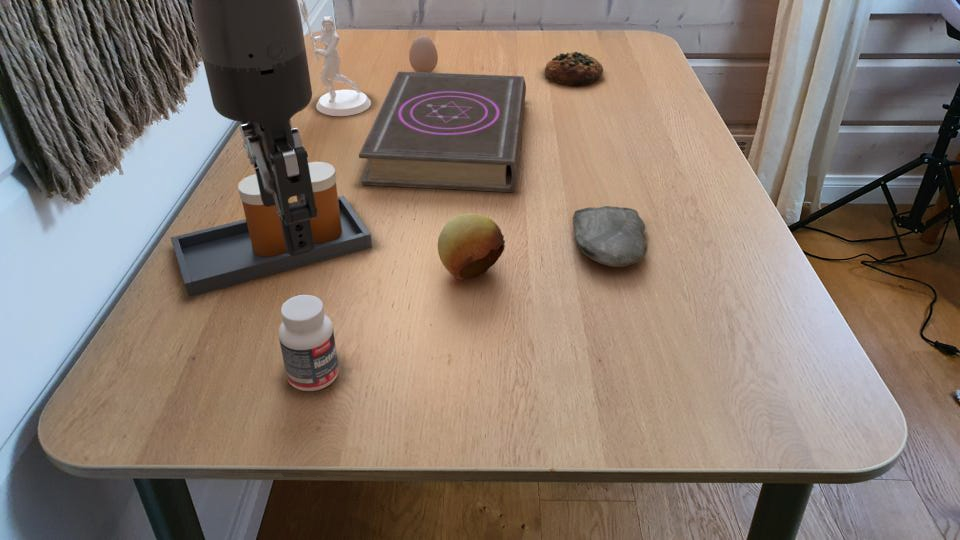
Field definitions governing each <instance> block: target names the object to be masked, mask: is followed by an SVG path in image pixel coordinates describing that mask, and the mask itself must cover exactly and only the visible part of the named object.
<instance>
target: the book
mask: <svg viewBox="0 0 960 540" xmlns="http://www.w3.org/2000/svg"><path fill="white" fill-rule="evenodd" d="M526 93H527V83H526V80H525V77H524V76H523V75H503V74H501V75H500V74H499V75H498V74H475V73H474V74H472V73H451V72H450V73H448V72H431V73H425V72H416V71H399V70H398V71H397V72H396V75H395V76H394V79H393V81H392V83H391V85H390V87H389V90H388V92H387V94H386V96H385V98H384V100H383V102H382V105H381V107H380V109H379V111H378V113H377V115H376V117H375V120H374V121H373V123H372V126H371V128H370V130H369V132H368V134H367V136H366V139H365V141H364V143H363V144H362V147H361V149H360V151H359V153H358V159H366V160H367V163H368V166H367V168H366V171H365V173H364V175H363V178H362V180H361V185H362V186H380V187H402V188H421V189H439V190H441V189H442V190H461V191H478V192H479V191H481V192H498V193H499V192H501V193H513V192H514V191H515V189H516V185H517V181H518V171H519V163H520V154H521V153H520V152H521V144H522V134H523V123H524V115H525V104H526V95H527V94H526Z"/></svg>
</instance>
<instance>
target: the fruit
mask: <svg viewBox="0 0 960 540" xmlns="http://www.w3.org/2000/svg"><path fill="white" fill-rule="evenodd" d="M505 247H506V240H505V236H504V234H503V233H502V230H501V228H500V227H499V225H498V224H497V222H495V221H494V220H493V219H491V218H490V217H488V216H486V215H483V214H479V213H474V212H468V213H467V212H466V213H461V214H459V215H456V216H454V217H452V218H451V219H449V220H448V221H447V222H446V223H445V225H444V226H443V227H442V229H441V231H440V233H439V235H438V237H437V254H438V257H439V260H440V262H441V263H442V265H443V266H444V268H445V269H446V270H447V272H448V273H449V274H451V276H453V277H454V279H455V280H460V281H462V280H467V279H471V278H476V277H480V276H483V275H484V274H485V273H486V272H487V271H488V270H489V269H490V268H491V267H493V266H494V265H495V264H496V263H497V262H498V260H499V258H500V257H501V256H502V254H503V253H504V251H505Z"/></svg>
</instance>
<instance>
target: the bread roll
mask: <svg viewBox="0 0 960 540" xmlns="http://www.w3.org/2000/svg"><path fill="white" fill-rule="evenodd" d="M603 73H604V67H603V64H602V63H601V62H600V61H598V59H596V58H595V57H593V56H590V55H589V54H587V53H582V52H578V51H574V52H572V51H571V52H570V53H569V52H566V53H560V54H559V55H555V57H553V58H551V60H549V61H548V62H547V63H546V64H545V68H544V75H545V76H546V77H547V78H548V79H550V80H552V81H554V82H557V83H560V84H562V85H567V86H569V87H581V86H584V85H590V84H591V83H595V82H596V81H598V80H599V79H600V77H601V76H602V74H603Z"/></svg>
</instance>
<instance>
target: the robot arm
mask: <svg viewBox="0 0 960 540" xmlns="http://www.w3.org/2000/svg"><path fill="white" fill-rule="evenodd" d="M191 4H192V5H191V7H192V8H191V9H192V17H193V23H194V28H195V32H196V37H197V41H198V45H199V49H200V53H201V58H202V62H203V66H204V71H205V75H206V79H207V84H208V88H209V92H210V97H211V101H212V106H213V108H214V109H215V111H216V112H217V113H218V114H219V115H220V116H222V117H224V118H225V119H228V120H231V121H234V122H240V124H239V132H240V134H241V137H242V140H243V148H244V151H245V153H246V156H247V158H248V159H249V163H250V165H251V166H252V168H253V169H254V171H255V174H256V176H257V181H258V186H259V191H260V196H261V200H262V202H263V204H264V205H265V206H266V207H270V206H274V205H276V207H277V210H278V211H277V215H278V217H280V221H281V226H282V231H283V236H284V241H285V246H286V250H287V252H288V254H289V255H290V256H296V255H300V254H304V253H307V252H310V251H312V250H313V249H314V242H313V236H312V230H311V224H310V219H314V218H317V208H316V206H315V200H314V195H313V189H312V183H311V177H310V171H309V166H308V162H309V159H308V158H309V153H308V151H307V150H306V148H305V146H303V141H302V139H301V135H300V132H299V129H298V128H297V127H293V126H292V120H291V119H292V118H293V117H294V116H295V115H296V114H298V113H299V112H302V111H303V110H304V109H306V108H307V107H308V106H309V104H310V103H311V101H312V98H313V89H312V83H311V76H310V70H309V62H308V56H307V48H306V43H305V34H304V28H303V20H302V13H301V8H300V4H299V1H298V0H191ZM297 195H299V198H300V201H297V200H296V201H292V202H289V201H290V198H293V197H297Z"/></svg>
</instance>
